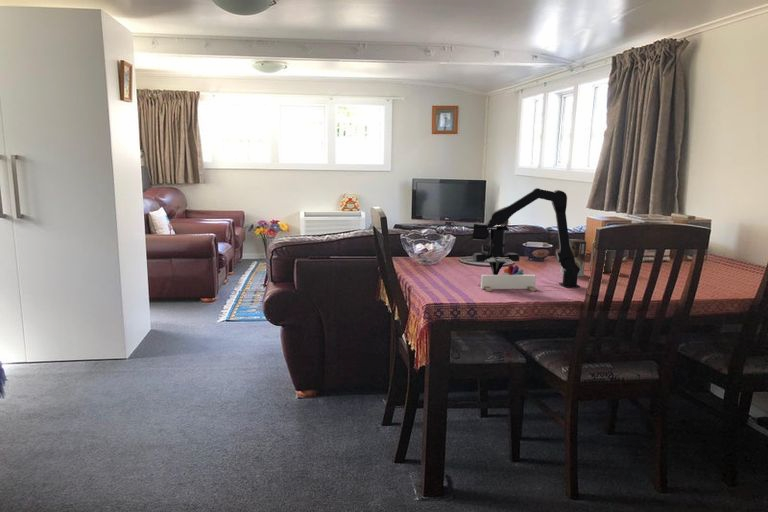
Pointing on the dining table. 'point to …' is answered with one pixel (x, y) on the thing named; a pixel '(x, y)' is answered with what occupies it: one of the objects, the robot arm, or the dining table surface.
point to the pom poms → (513, 271)
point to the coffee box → (578, 254)
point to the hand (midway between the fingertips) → (495, 277)
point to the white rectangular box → (508, 282)
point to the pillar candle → (607, 262)
